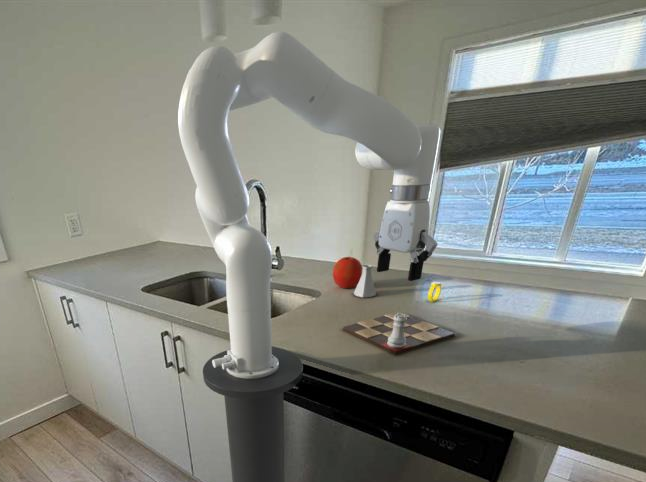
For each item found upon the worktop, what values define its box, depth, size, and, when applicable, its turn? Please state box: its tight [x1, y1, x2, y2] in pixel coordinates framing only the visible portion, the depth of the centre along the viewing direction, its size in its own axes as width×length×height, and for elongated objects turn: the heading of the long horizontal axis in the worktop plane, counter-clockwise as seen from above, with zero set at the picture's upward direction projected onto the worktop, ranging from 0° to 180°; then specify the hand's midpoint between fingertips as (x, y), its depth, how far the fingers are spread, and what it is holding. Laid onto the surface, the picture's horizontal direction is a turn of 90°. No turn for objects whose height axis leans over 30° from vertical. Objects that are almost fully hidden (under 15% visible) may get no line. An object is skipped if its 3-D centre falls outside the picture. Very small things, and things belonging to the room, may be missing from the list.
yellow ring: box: [427, 281, 442, 303], centre depth 128 cm, size 6×3×6 cm, turn 131°
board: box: [342, 311, 456, 356], centre depth 110 cm, size 20×20×1 cm
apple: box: [332, 255, 363, 289], centre depth 147 cm, size 10×10×12 cm
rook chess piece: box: [387, 312, 407, 348], centre depth 99 cm, size 4×4×8 cm
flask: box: [353, 264, 377, 298], centre depth 138 cm, size 7×7×10 cm
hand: (397, 275), depth 93 cm, fingers open, 9 cm apart
